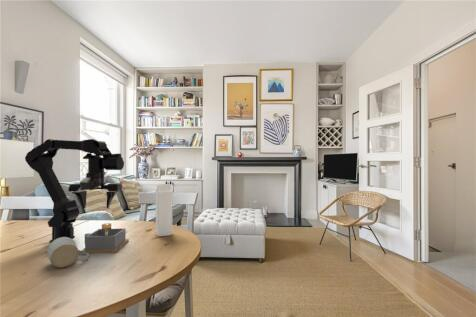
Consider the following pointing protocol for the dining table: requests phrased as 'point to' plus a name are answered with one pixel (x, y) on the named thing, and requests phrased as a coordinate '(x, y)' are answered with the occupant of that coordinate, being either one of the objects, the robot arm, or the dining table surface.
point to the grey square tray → (105, 241)
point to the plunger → (106, 228)
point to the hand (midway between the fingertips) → (96, 208)
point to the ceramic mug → (65, 252)
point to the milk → (164, 210)
